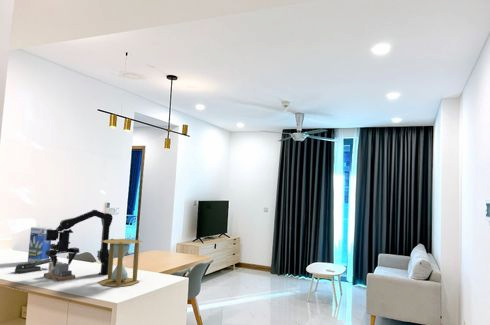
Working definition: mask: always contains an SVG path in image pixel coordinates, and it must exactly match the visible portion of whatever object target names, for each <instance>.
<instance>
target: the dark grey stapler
mask: <svg viewBox="0 0 490 325" xmlns="http://www.w3.org/2000/svg"><path fill="white" fill-rule="evenodd" d="M58 260H59V259H58V258H57V261H58ZM51 262H52V260H51V258H50V257H49V259H46V260H42V261H39V262H35V263H29V262H26V263H19V264H17V265H16V267H15V268H14V273H15V274H17V273H18V274H19V275H21V274H29V273H36V272H40V271H41V269H42V268H41V265H44V264H46V265H47V264H49V263H51Z"/></svg>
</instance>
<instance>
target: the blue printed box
mask: <svg viewBox="0 0 490 325" xmlns="http://www.w3.org/2000/svg"><path fill="white" fill-rule="evenodd" d="M47 229H49V230H53V227H46V226H32V227H30V235H29V244H28V245H29V246H28V255H27V263H35V262H39V261H42V260H46V259H50V257H49V256H48V255H45V254H46V251H47V250H51V249H50V246H51V244H52V241H45V234H46V231H47Z"/></svg>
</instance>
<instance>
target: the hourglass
mask: <svg viewBox="0 0 490 325" xmlns="http://www.w3.org/2000/svg"><path fill="white" fill-rule="evenodd" d="M101 241H102V240H101ZM102 242H105V243H108V244H109V247H108V251H109V260H108V274H107V278H105V279H102V280H99V281H97V283H99V284H100V285H102V286H107V287H116V288H117V287H118V288H119V287H126V286H133V285H135V284H137V283H140V280H138V270H139V255H140V253H139V252H140V251H139V250H140V243H141V242H143V241H142V240H139V239H129V238H110V239H109V240H104V241H102ZM131 244H134V249H133V251H134V252H133V260H132V261H133V266H132V277H128V272H127V270H126V268H125V266H124V264H123V261H124V260H123V259H124V258H125V256H126V254H127V252H129V249H130V245H131ZM115 254H116V256H117V262H116V263H117V264H116V267H114V255H115ZM113 268H114V269H113Z"/></svg>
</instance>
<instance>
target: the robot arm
mask: <svg viewBox="0 0 490 325" xmlns="http://www.w3.org/2000/svg"><path fill="white" fill-rule="evenodd" d="M94 217H96V218H99V219H101V225H102V230H101V241H100V250H97V256H96V258H97V260H98V261H99V262H100V264H101V265H100V272H98V274H99V275H103V276H106V275H107V276H108V260H109V243H105V242H102V241H104V240H109V238H110V228H111V225H112V222H113V215H112V214H111V213H108V212H103V211H99V210H97V209H92V210H90V211H87V212H86V213H83V214H80V215H78V216H75V217H71V218H70V217H69V218H66V219H63V220H61V221H60V222H59V225H58V226H57V227H56V228H55V229H52V230H49V229H47V231H46V234H45V241H51V242H52V241H57V240H58V241H57V243H51V246H50V250H47V251H46V254H45V255H48V256H49V259H50V258H51V260H52V263H53V266H54V267H55V265H56V260H57V259H58V256H57V255H59V254H67V253H68V254H67V255H68V261H67V264H69V266H70V265H71V263H72V261H73V259H74V258H75V256H76V255H78V254H79V253H80V249H79V248H78V247H69V245H70V244H71V241H70V234H73V233H74V231H73V230H72V229H71V228H72V227H74V226H75V225H77V224H79V223H82V222H83V221H84V222H85V221H86V220H88V219H91V218H94ZM51 260H50V261H51Z"/></svg>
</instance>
